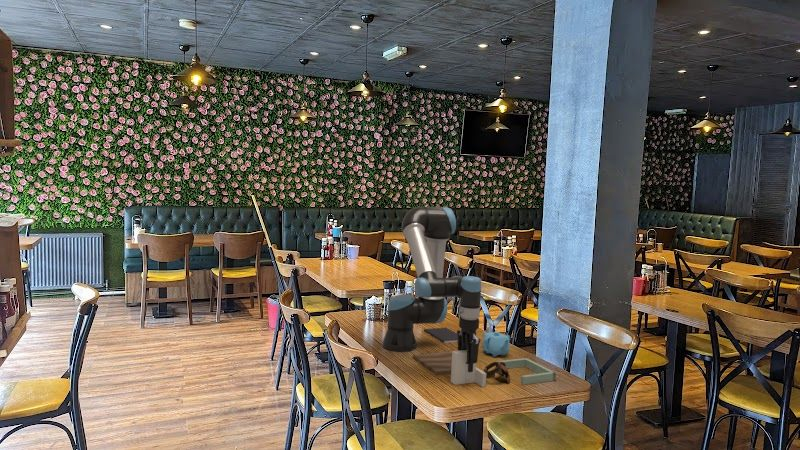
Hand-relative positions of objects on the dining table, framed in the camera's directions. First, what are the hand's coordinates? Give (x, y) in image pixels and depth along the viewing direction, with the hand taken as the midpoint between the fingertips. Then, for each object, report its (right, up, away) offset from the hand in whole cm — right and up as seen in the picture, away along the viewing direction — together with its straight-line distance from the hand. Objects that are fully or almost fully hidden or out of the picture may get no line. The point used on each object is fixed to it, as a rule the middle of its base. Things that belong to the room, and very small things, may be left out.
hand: (466, 377), depth 215 cm
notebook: (-3, +3, +62) cm, 62 cm away
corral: (+24, -2, +11) cm, 27 cm away
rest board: (-7, 0, +20) cm, 21 cm away
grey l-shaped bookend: (-1, -2, 0) cm, 2 cm away
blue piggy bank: (+18, 0, +37) cm, 41 cm away
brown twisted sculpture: (+13, -2, +4) cm, 14 cm away
